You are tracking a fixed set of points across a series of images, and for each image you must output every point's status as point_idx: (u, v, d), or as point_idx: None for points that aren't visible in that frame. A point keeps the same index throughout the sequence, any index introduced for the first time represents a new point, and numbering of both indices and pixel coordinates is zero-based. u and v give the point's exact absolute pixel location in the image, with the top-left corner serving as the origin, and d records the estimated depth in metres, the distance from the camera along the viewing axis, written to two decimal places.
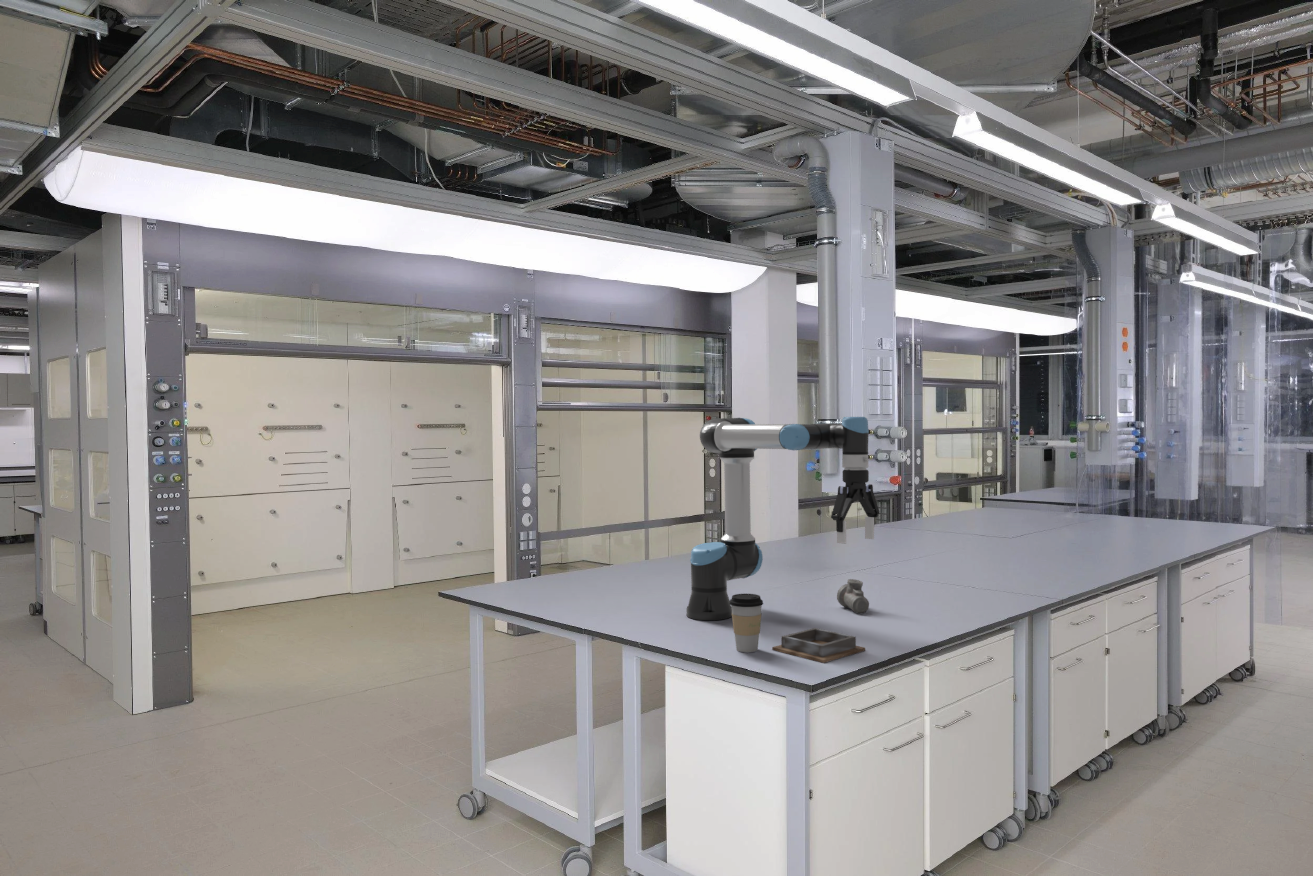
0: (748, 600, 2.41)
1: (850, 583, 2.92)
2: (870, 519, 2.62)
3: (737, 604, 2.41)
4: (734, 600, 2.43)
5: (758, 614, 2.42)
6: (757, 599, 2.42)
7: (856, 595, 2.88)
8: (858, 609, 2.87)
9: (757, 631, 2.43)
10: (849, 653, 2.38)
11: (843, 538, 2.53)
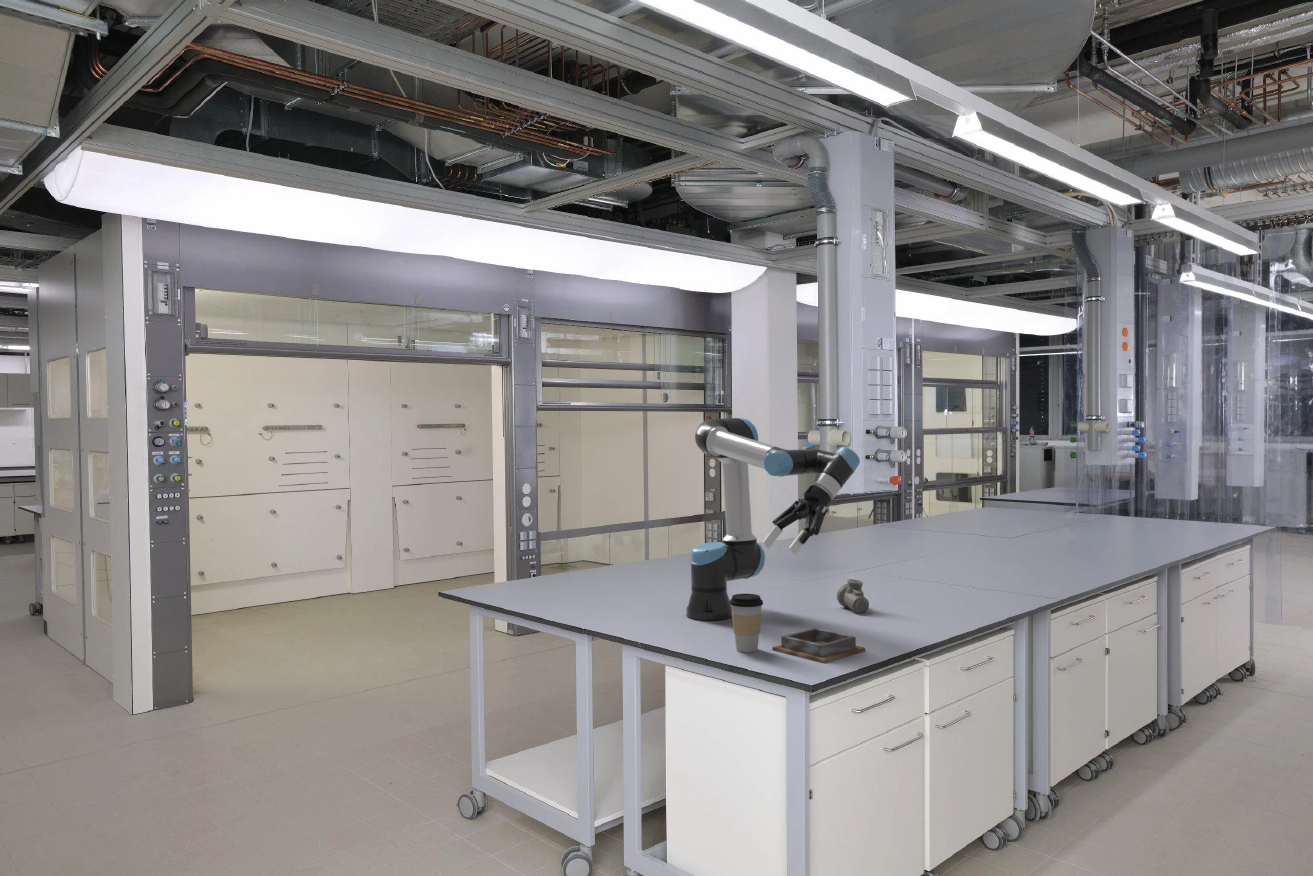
0: (748, 600, 2.41)
1: (850, 583, 2.92)
2: (779, 531, 2.57)
3: (737, 604, 2.41)
4: (734, 600, 2.43)
5: (758, 614, 2.42)
6: (757, 599, 2.42)
7: (856, 595, 2.88)
8: (858, 609, 2.87)
9: (757, 631, 2.43)
10: (849, 653, 2.38)
11: (798, 549, 2.43)
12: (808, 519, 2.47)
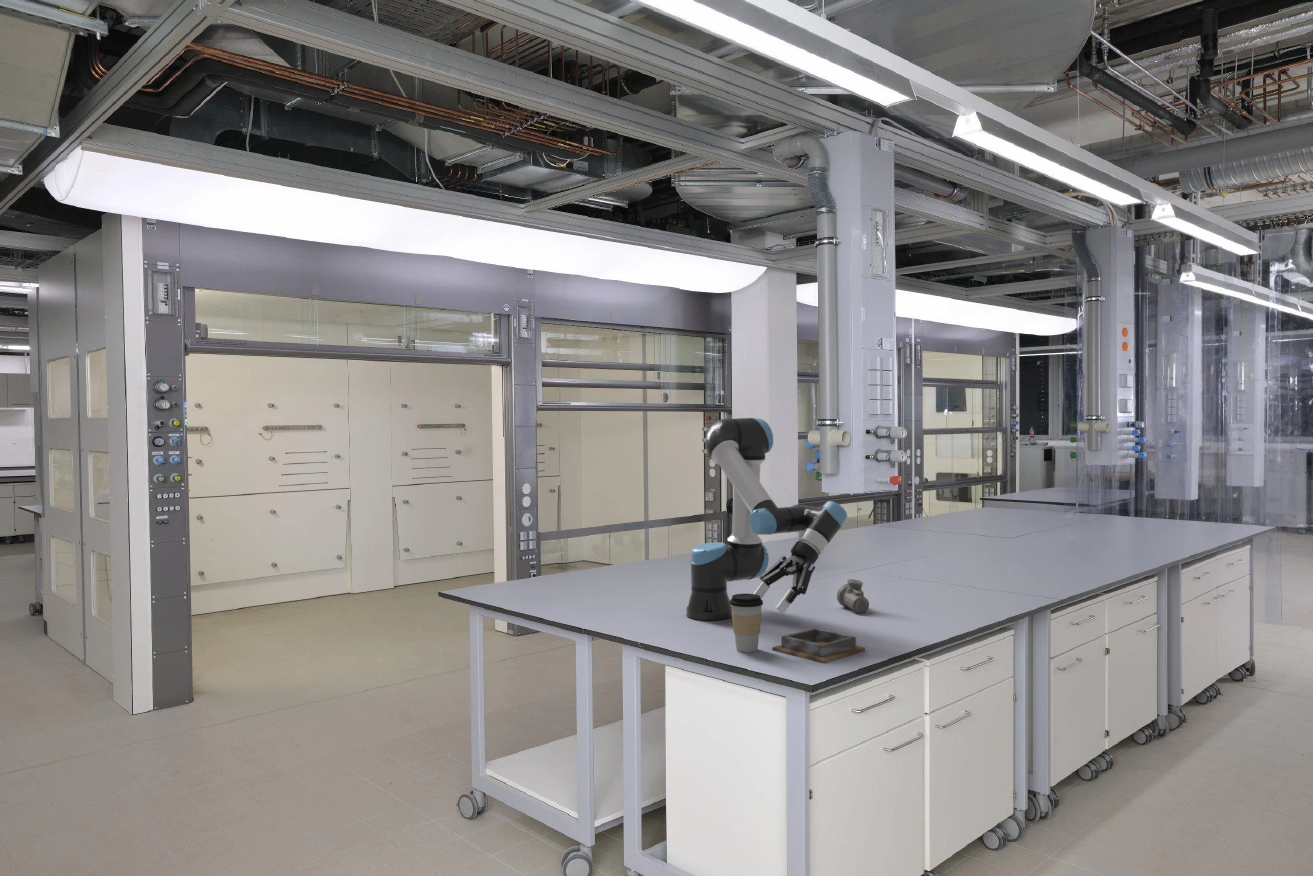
0: (748, 600, 2.41)
1: (850, 583, 2.92)
2: (766, 587, 2.54)
3: (737, 604, 2.41)
4: (734, 600, 2.43)
5: (758, 614, 2.42)
6: (757, 599, 2.42)
7: (856, 595, 2.88)
8: (858, 609, 2.87)
9: (757, 631, 2.43)
10: (849, 653, 2.38)
11: (785, 608, 2.40)
12: (795, 577, 2.44)
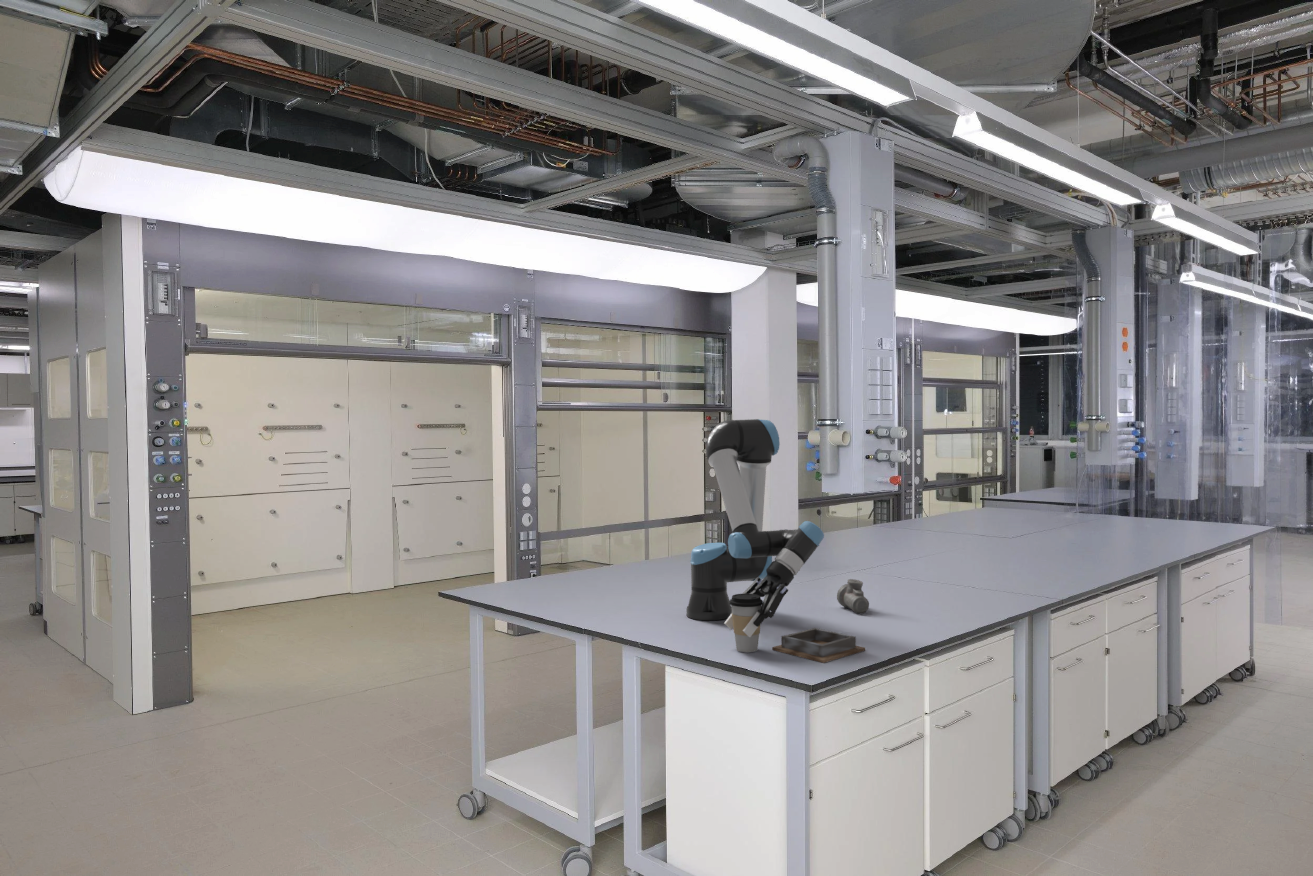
0: (748, 600, 2.41)
1: (850, 583, 2.92)
2: None
3: (737, 604, 2.41)
4: (734, 600, 2.43)
5: None
6: (757, 599, 2.42)
7: (856, 595, 2.88)
8: (858, 609, 2.87)
9: (757, 631, 2.43)
10: (849, 653, 2.38)
11: (752, 632, 2.40)
12: (765, 600, 2.42)
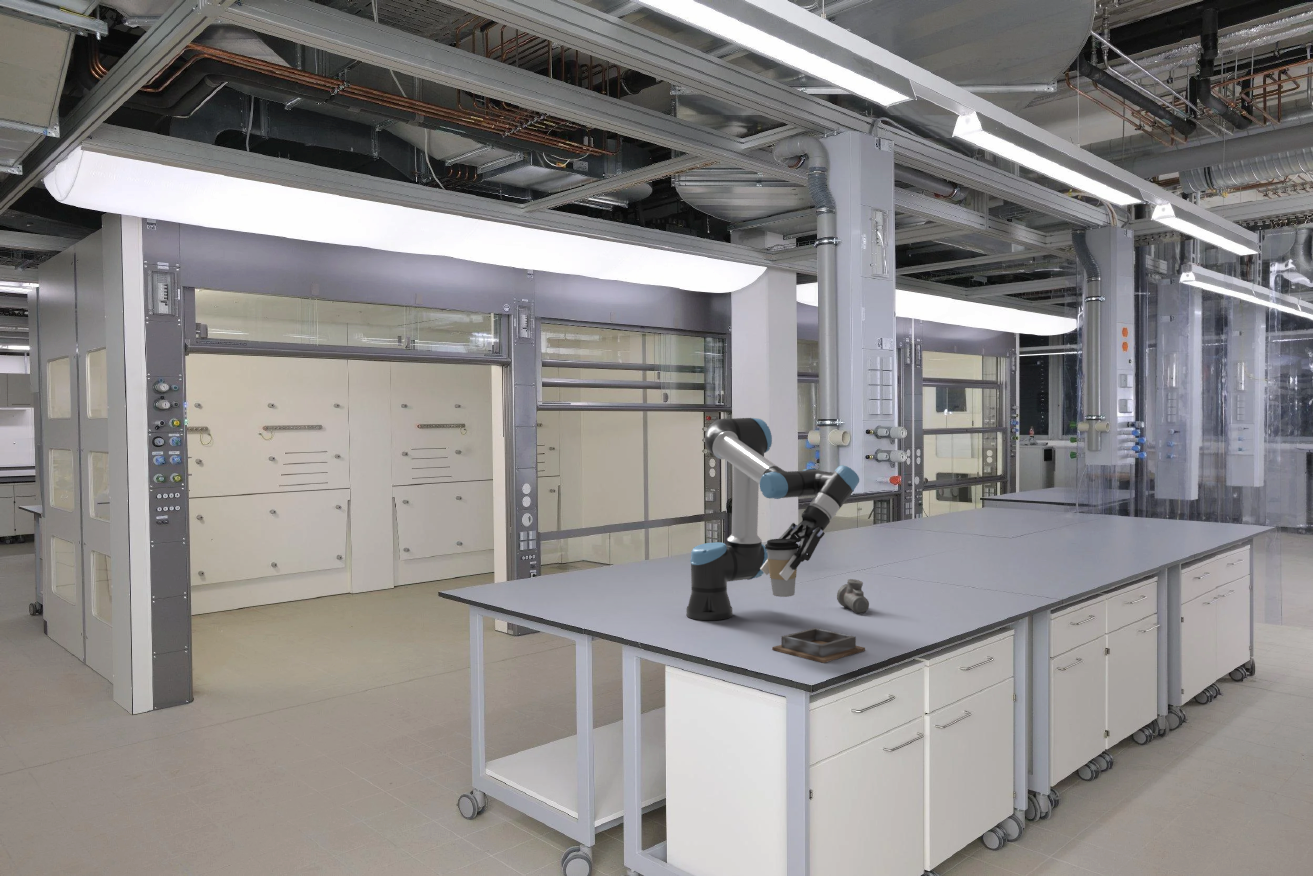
0: (784, 543, 2.39)
1: (850, 583, 2.92)
2: None
3: (773, 548, 2.39)
4: (770, 544, 2.41)
5: None
6: (793, 542, 2.40)
7: (856, 595, 2.88)
8: (858, 609, 2.87)
9: (793, 575, 2.40)
10: (849, 653, 2.38)
11: (789, 575, 2.37)
12: (802, 543, 2.40)
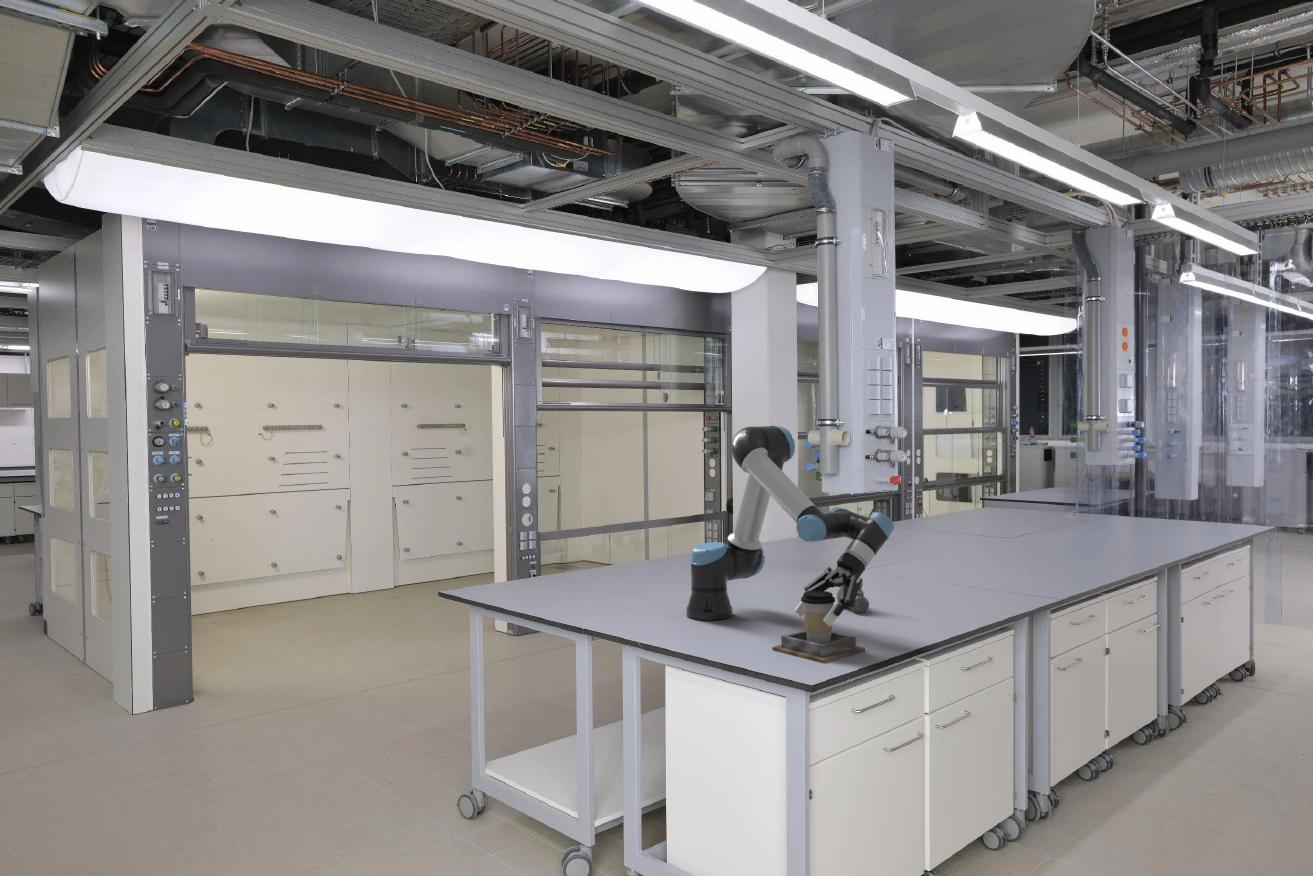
0: (821, 597, 2.39)
1: None
2: None
3: (810, 601, 2.40)
4: (806, 597, 2.41)
5: None
6: (830, 596, 2.41)
7: None
8: (858, 609, 2.87)
9: (829, 629, 2.41)
10: (849, 653, 2.38)
11: (832, 621, 2.37)
12: (842, 590, 2.40)
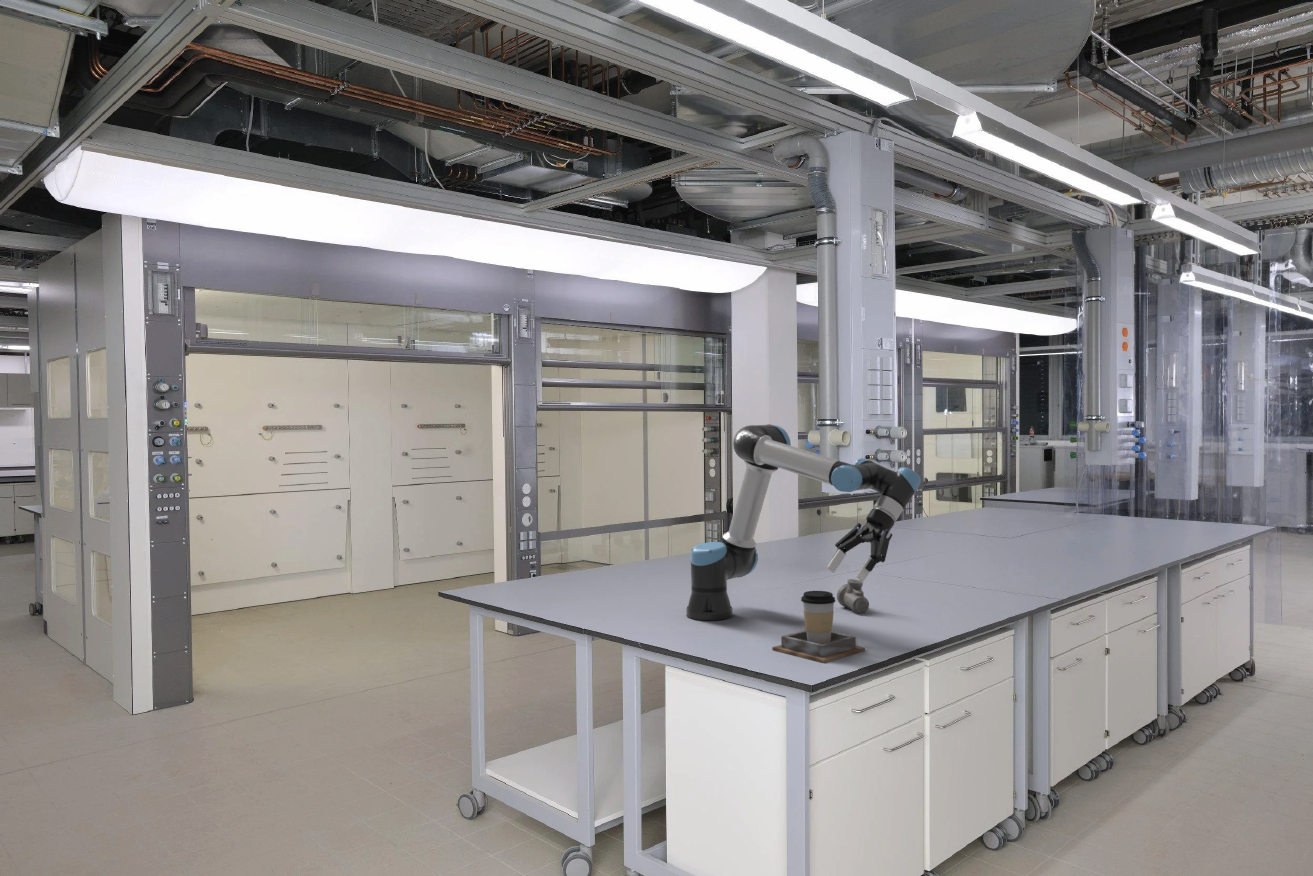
0: (821, 597, 2.39)
1: (850, 583, 2.92)
2: (843, 555, 2.57)
3: (810, 601, 2.40)
4: (806, 597, 2.41)
5: (831, 611, 2.41)
6: (830, 596, 2.41)
7: (856, 595, 2.88)
8: (858, 609, 2.87)
9: (830, 629, 2.41)
10: (849, 653, 2.38)
11: (865, 577, 2.44)
12: (873, 545, 2.47)
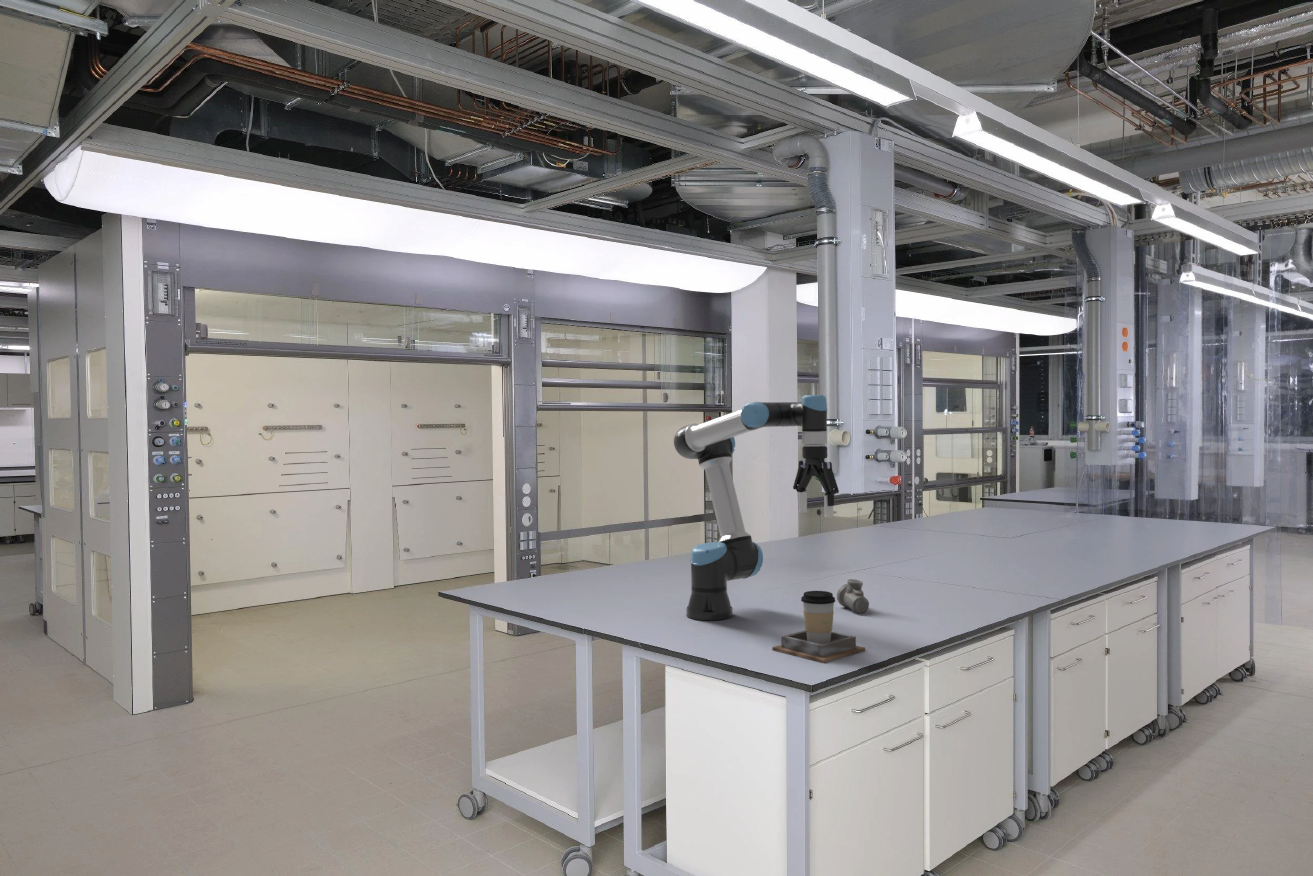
0: (821, 597, 2.39)
1: (850, 583, 2.92)
2: (804, 494, 2.75)
3: (810, 601, 2.40)
4: (806, 597, 2.41)
5: (831, 611, 2.41)
6: (830, 596, 2.41)
7: (856, 595, 2.89)
8: (858, 609, 2.87)
9: (830, 629, 2.41)
10: (849, 653, 2.38)
11: (832, 511, 2.63)
12: (822, 482, 2.63)
